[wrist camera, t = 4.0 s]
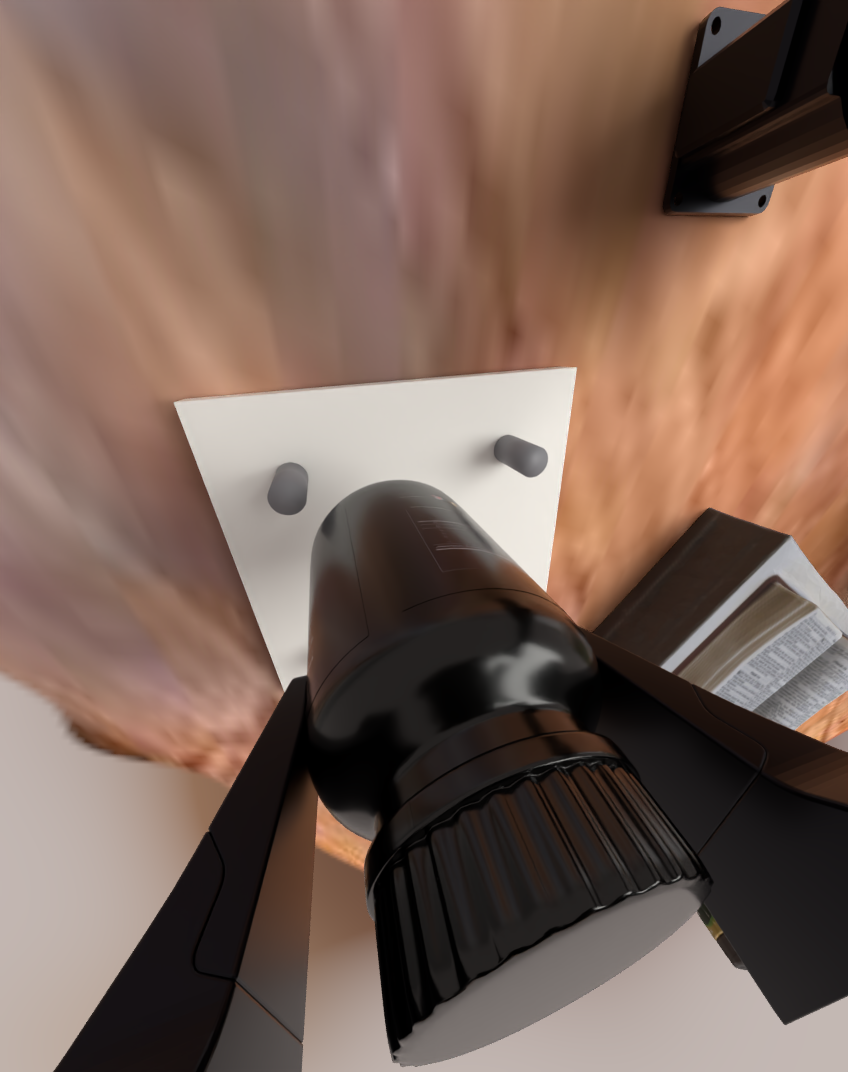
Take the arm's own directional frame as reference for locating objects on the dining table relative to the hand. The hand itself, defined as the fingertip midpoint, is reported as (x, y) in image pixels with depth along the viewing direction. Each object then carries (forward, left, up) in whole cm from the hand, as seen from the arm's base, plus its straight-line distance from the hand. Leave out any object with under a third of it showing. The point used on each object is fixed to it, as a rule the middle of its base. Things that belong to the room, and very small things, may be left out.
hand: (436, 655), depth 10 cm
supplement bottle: (0, 0, -6) cm, 6 cm away
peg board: (-2, +4, -13) cm, 14 cm away
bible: (-31, +20, -14) cm, 40 cm away
